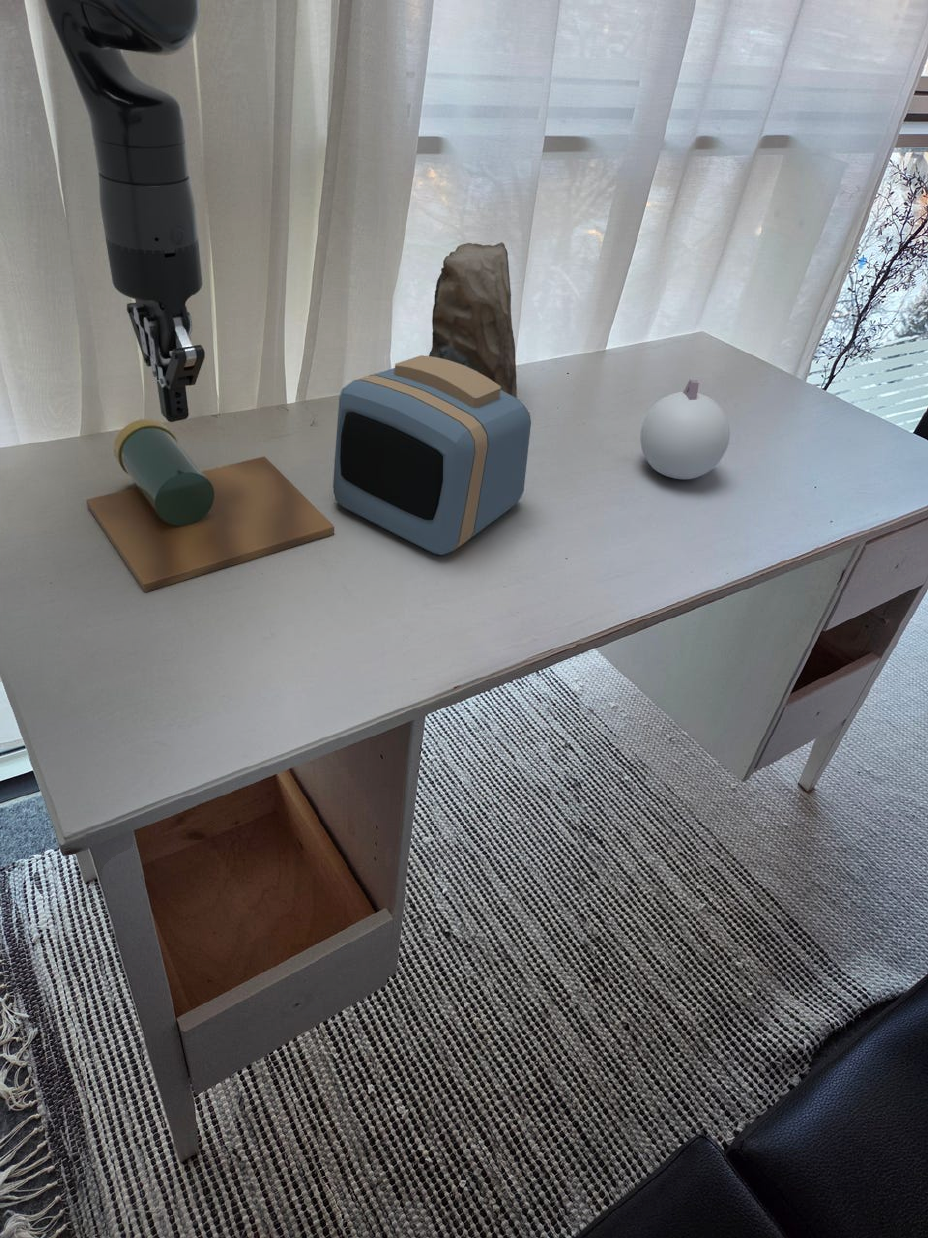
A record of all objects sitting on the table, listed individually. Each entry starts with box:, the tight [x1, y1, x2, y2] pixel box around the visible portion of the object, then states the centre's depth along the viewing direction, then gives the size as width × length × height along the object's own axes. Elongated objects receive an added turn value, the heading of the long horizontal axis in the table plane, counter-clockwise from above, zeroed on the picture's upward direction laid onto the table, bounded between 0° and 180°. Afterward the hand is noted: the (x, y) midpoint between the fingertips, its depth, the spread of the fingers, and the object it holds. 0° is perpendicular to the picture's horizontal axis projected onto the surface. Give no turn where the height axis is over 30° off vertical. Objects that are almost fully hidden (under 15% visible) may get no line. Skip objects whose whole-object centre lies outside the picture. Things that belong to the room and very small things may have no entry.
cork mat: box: [85, 456, 335, 593], centre depth 87 cm, size 20×16×1 cm
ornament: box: [639, 379, 731, 480], centre depth 102 cm, size 10×10×12 cm
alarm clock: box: [332, 354, 532, 556], centre depth 89 cm, size 16×16×16 cm
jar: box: [113, 418, 214, 526], centre depth 86 cm, size 6×6×12 cm
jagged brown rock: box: [428, 241, 518, 399], centre depth 107 cm, size 13×13×20 cm
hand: (175, 417), depth 82 cm, fingers closed
